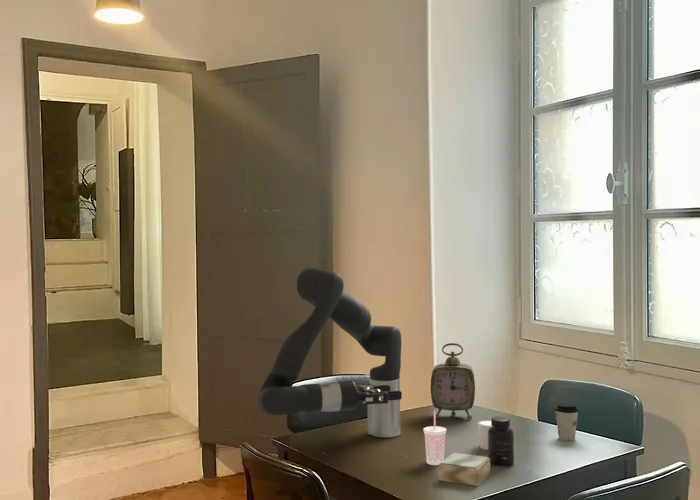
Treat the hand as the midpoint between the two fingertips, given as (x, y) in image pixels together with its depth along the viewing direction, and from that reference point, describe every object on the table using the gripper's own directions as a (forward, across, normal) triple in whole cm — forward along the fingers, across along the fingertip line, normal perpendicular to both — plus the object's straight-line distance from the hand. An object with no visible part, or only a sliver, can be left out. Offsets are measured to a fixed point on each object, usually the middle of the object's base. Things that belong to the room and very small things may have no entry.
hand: (395, 391), depth 191 cm
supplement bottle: (+28, -6, +20) cm, 35 cm away
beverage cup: (+11, 0, +20) cm, 23 cm away
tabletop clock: (+37, +43, +19) cm, 60 cm away
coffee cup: (+57, +8, +19) cm, 61 cm away
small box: (+14, -13, +20) cm, 27 cm away
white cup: (+32, +8, +20) cm, 38 cm away
